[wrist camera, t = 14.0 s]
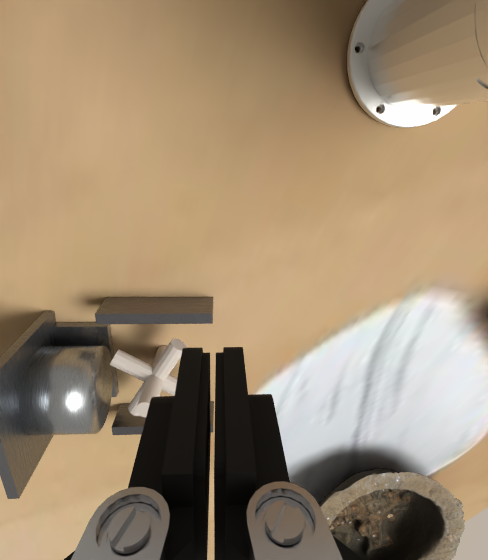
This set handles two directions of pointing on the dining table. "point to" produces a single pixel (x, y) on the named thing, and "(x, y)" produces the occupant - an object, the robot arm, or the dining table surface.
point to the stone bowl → (395, 516)
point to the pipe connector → (150, 374)
